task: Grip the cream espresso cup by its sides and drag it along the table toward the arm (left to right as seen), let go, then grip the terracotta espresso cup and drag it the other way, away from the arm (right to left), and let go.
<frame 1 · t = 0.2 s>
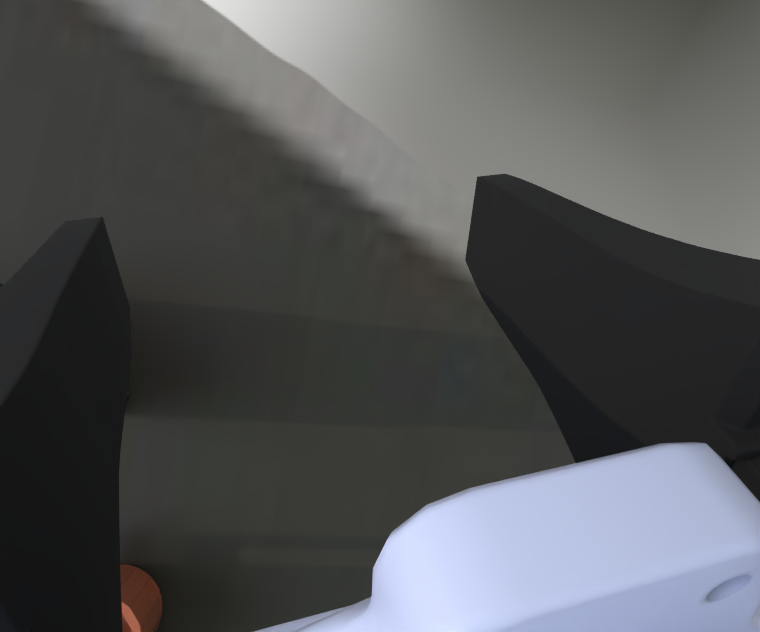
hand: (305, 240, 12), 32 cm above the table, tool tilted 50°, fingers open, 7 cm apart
terracotta cup: (115, 611, 38), on the table
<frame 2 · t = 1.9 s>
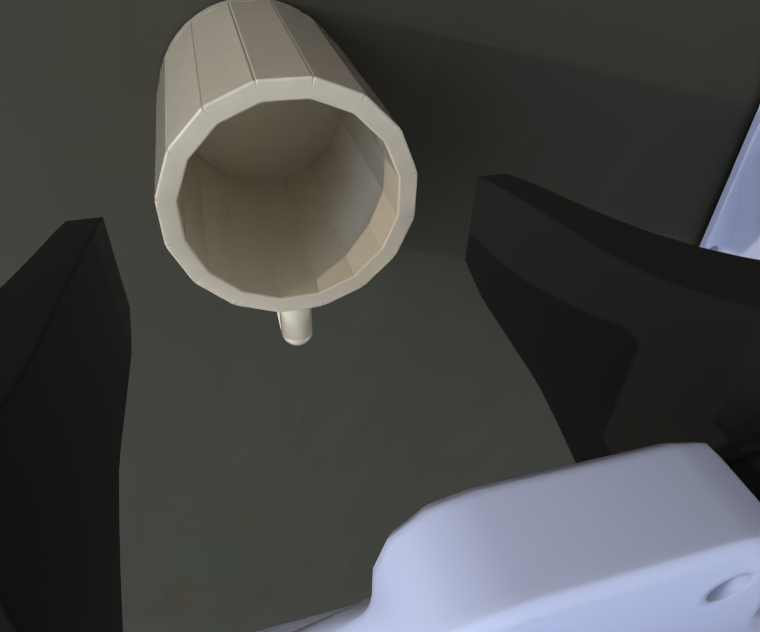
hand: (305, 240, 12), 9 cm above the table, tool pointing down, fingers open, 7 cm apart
cream cup: (258, 100, 18), on the table
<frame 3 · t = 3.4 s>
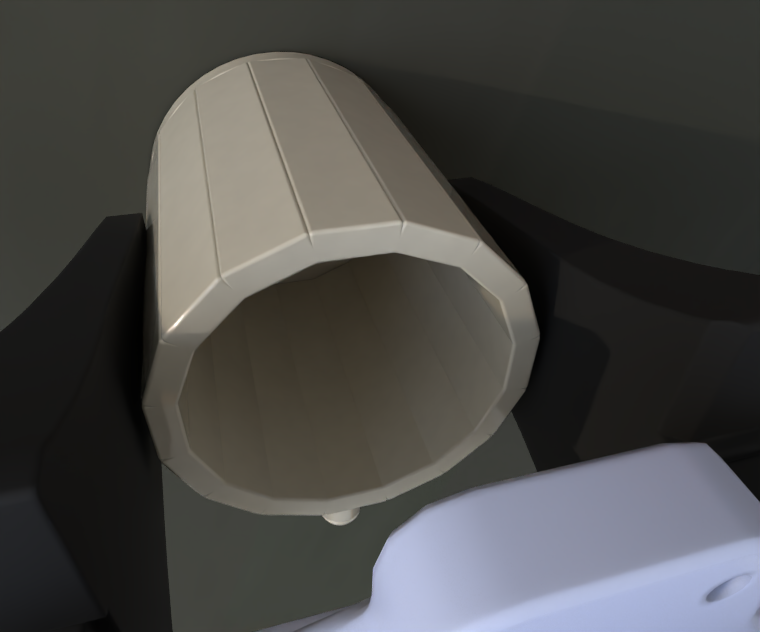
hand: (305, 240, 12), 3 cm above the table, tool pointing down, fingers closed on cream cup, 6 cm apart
cream cup: (283, 182, 14), on the table, touching gripper
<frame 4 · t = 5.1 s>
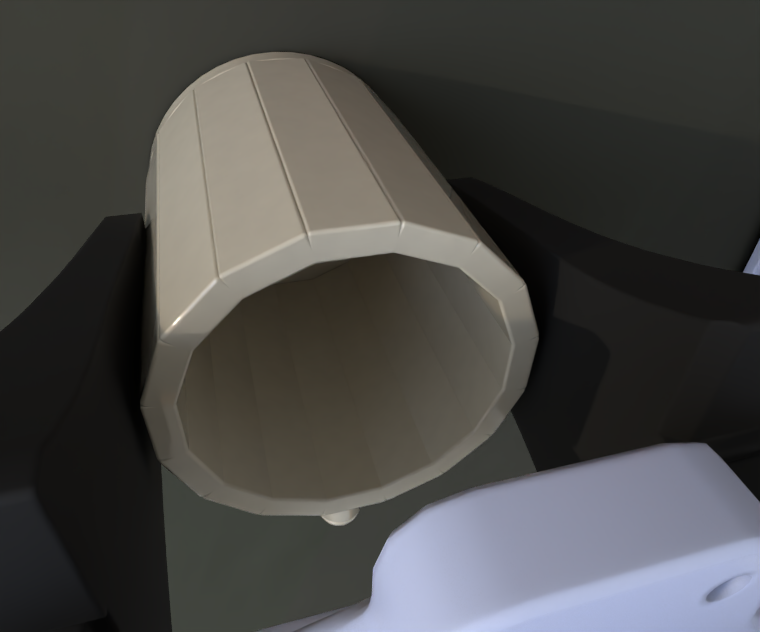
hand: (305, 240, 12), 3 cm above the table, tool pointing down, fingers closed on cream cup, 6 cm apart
cream cup: (283, 182, 14), on the table, touching gripper
when the fingers open (3 cm above the table, at t = 6.9 s): cream cup stays where it is, on the table.
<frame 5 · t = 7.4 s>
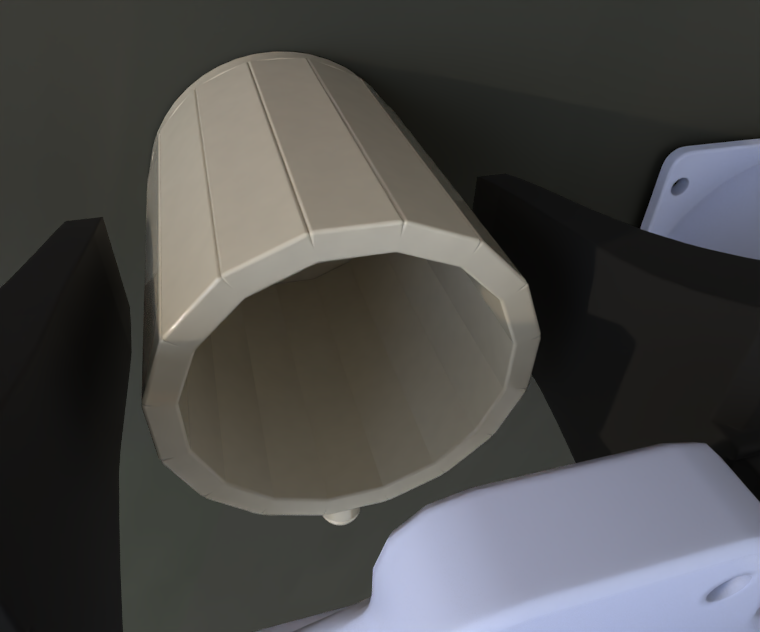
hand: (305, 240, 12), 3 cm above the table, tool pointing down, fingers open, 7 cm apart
cream cup: (284, 182, 14), on the table
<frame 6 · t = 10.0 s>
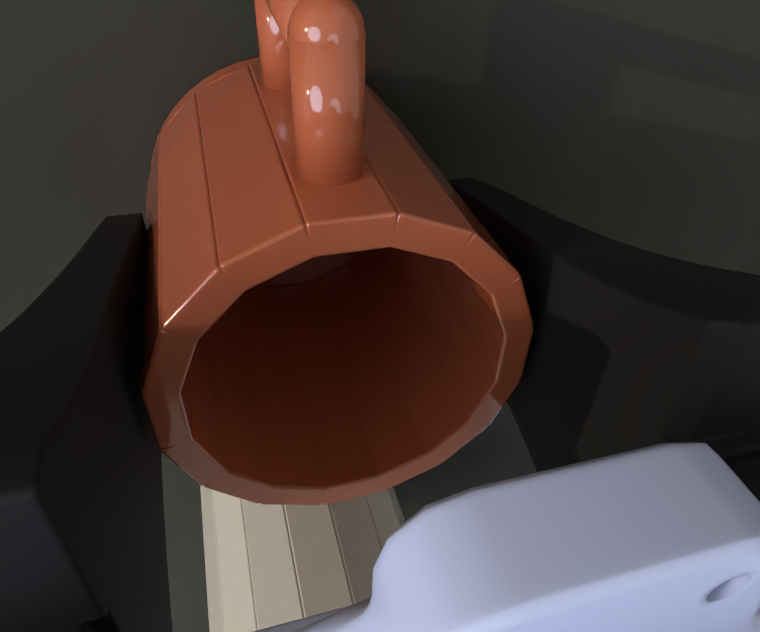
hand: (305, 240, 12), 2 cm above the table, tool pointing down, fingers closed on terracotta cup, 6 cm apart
cream cup: (291, 464, 20), on the table
terracotta cup: (285, 186, 14), on the table, touching gripper
when the fingers open (2 cm above the table, at t = 13.5 s): terracotta cup stays where it is, on the table.
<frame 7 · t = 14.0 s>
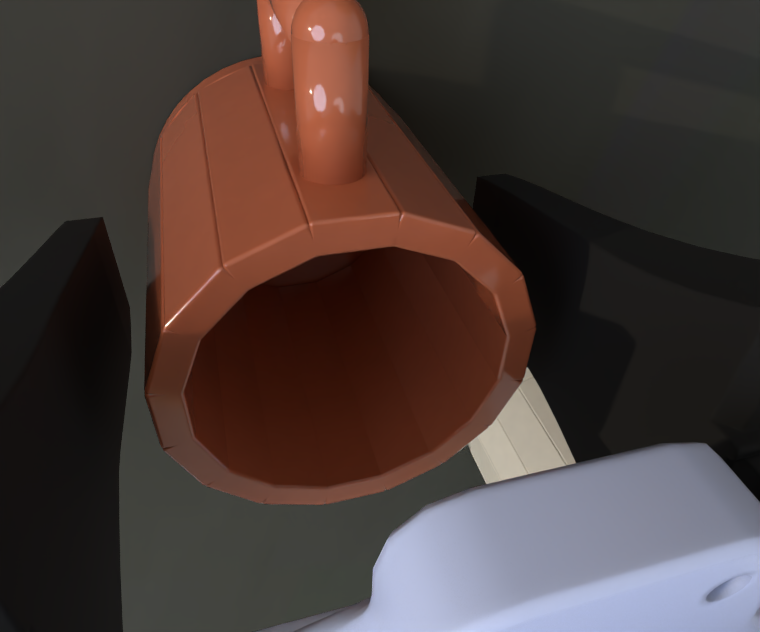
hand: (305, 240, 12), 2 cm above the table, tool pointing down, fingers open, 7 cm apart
cream cup: (539, 413, 22), on the table
terracotta cup: (286, 186, 14), on the table
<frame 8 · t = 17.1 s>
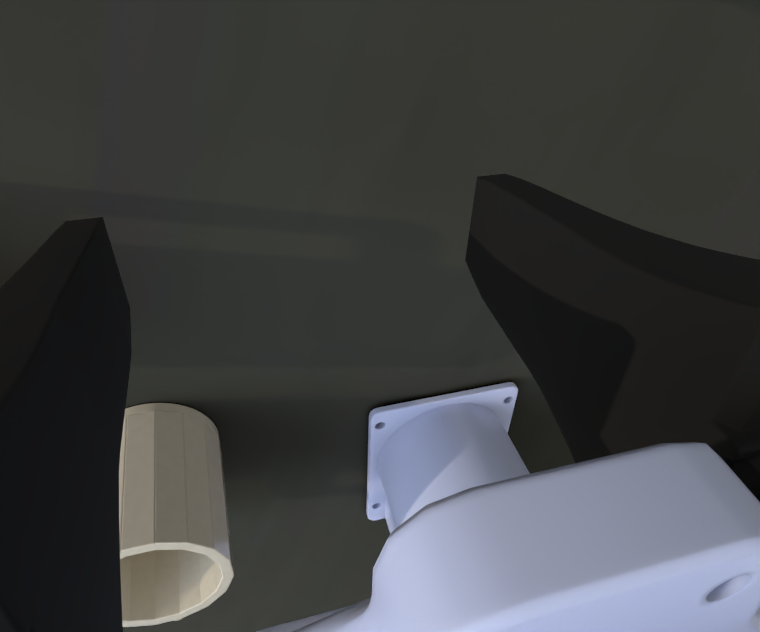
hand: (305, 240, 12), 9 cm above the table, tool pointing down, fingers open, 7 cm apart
cream cup: (155, 446, 28), on the table
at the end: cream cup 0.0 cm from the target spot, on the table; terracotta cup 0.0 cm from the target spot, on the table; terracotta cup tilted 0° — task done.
